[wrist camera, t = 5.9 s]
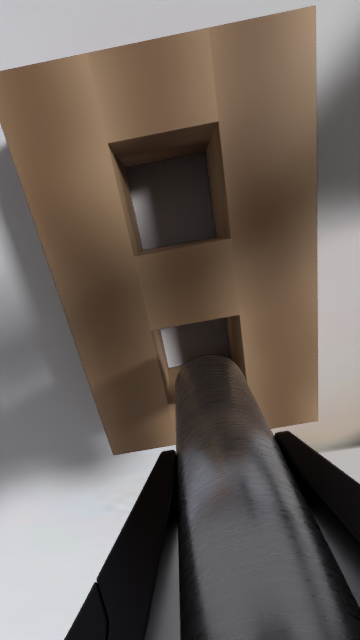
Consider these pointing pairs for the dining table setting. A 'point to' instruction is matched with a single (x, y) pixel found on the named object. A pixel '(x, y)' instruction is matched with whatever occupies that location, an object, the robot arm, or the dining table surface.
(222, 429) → the peg
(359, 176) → the dining table surface
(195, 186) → the dining table surface
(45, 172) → the peg board
